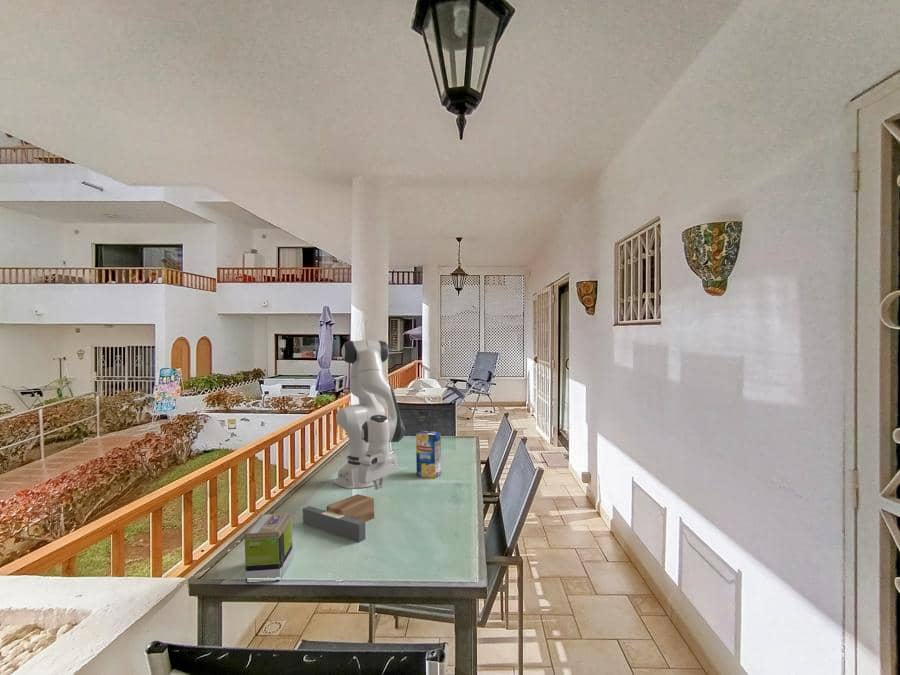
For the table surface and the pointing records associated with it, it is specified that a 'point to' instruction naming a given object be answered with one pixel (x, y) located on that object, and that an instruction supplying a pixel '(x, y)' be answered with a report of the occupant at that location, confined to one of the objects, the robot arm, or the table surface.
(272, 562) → the tea box
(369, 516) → the walnut block
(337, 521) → the stop board
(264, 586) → the table surface
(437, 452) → the beverage box
